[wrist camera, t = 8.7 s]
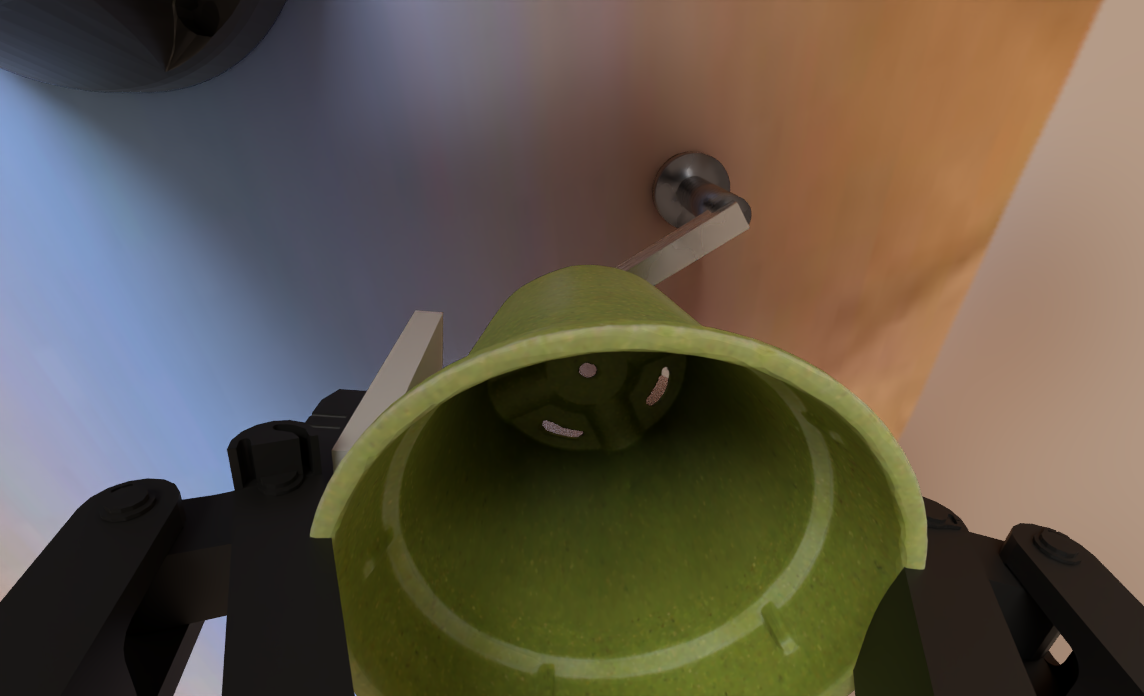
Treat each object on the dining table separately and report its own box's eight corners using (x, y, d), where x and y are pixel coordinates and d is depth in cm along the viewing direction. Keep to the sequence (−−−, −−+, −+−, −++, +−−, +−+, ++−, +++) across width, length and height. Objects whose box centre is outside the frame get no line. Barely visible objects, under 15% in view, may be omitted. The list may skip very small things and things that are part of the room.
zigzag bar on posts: (535, 453, 29) (533, 544, 24) (566, 137, 23) (574, 151, 17) (734, 465, 30) (780, 556, 24) (819, 165, 24) (912, 189, 18)
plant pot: (396, 451, 17) (273, 752, 9) (463, 151, 13) (352, 230, 6) (669, 512, 19) (759, 813, 11) (795, 258, 15) (1069, 435, 7)
